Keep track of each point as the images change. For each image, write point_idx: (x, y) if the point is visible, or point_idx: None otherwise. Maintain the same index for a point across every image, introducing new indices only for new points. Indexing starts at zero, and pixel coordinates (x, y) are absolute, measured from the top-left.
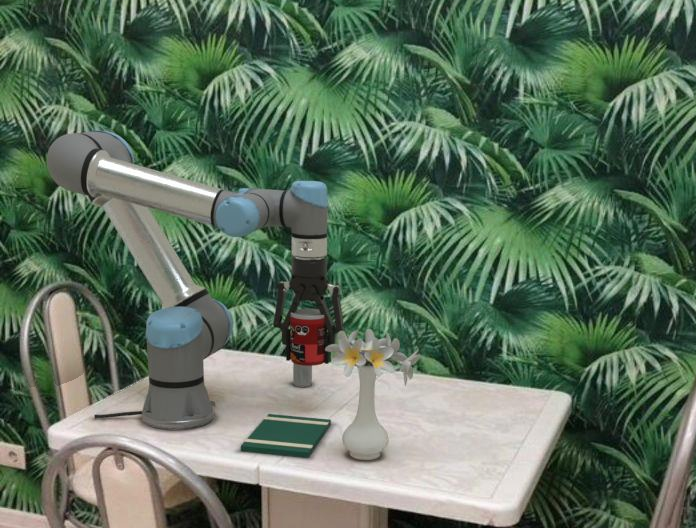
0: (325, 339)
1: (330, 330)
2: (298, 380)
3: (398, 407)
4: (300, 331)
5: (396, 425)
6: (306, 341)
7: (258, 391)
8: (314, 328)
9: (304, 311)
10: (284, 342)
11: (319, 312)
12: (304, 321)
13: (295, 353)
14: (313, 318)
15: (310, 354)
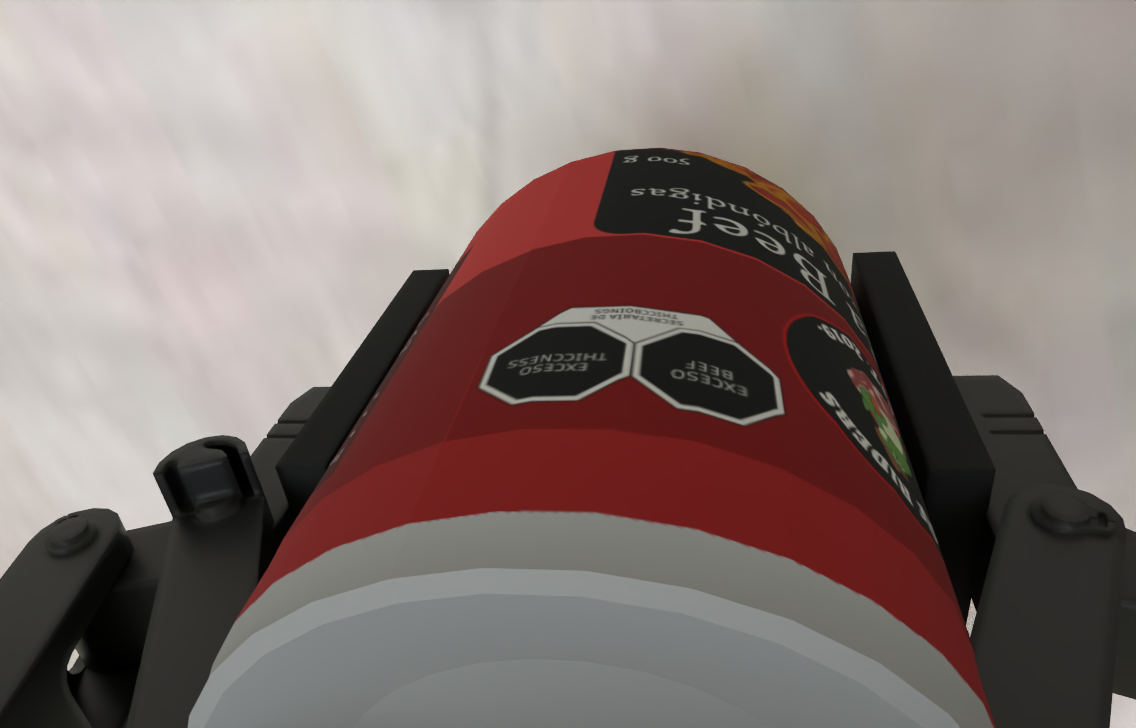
0: (343, 423)
1: (214, 521)
2: None
3: (215, 378)
4: (660, 341)
5: (66, 85)
6: (563, 260)
7: (1099, 422)
8: (381, 426)
9: None
10: (977, 392)
11: None
12: (541, 475)
13: (756, 204)
14: (318, 572)
15: (538, 201)
